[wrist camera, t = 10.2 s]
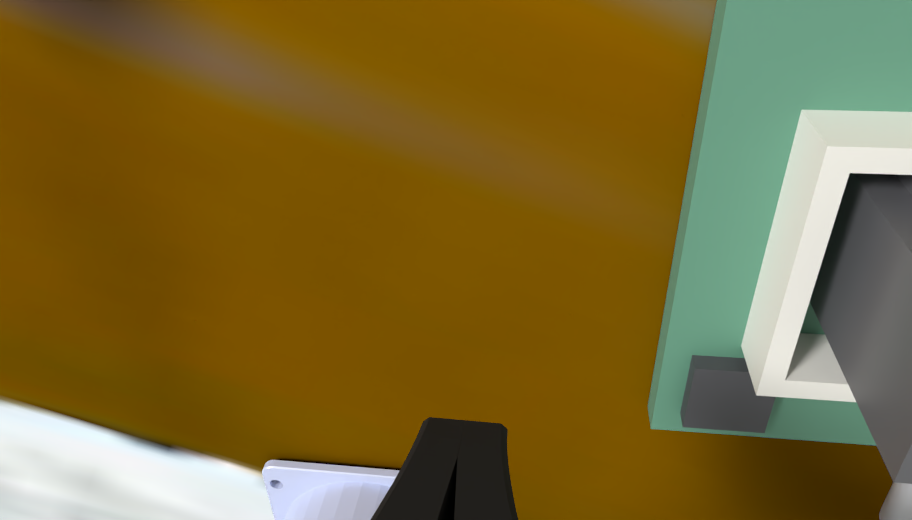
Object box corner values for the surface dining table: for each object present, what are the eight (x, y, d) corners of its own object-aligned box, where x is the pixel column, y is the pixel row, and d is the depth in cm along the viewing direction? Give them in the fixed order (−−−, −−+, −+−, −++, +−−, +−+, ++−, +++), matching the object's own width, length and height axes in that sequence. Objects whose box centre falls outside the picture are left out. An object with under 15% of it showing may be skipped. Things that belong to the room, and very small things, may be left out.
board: (972, 429, 22) (1024, 512, 20) (647, 406, 24) (657, 481, 21) (1229, -46, 15) (1367, -8, 12) (724, -44, 16) (754, -10, 13)
